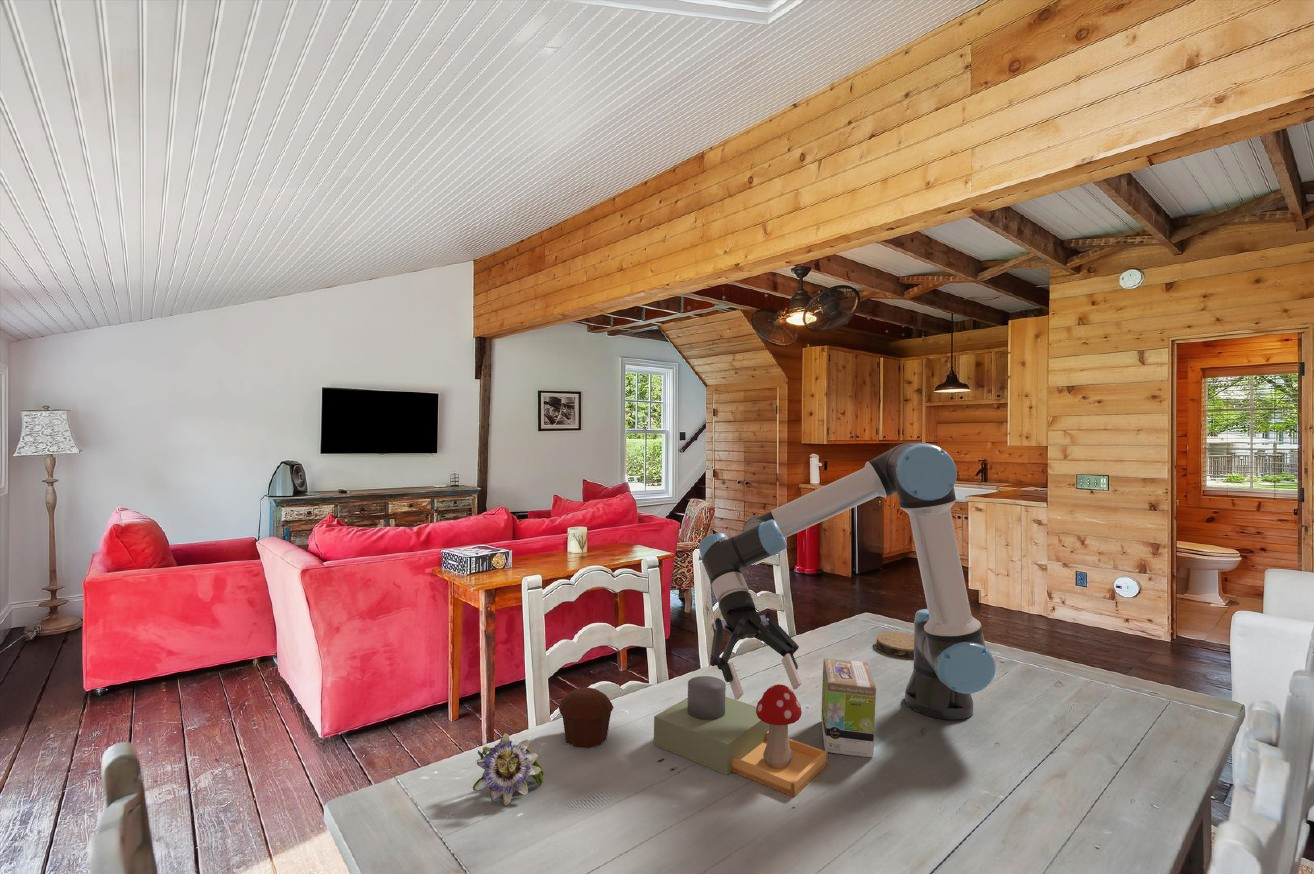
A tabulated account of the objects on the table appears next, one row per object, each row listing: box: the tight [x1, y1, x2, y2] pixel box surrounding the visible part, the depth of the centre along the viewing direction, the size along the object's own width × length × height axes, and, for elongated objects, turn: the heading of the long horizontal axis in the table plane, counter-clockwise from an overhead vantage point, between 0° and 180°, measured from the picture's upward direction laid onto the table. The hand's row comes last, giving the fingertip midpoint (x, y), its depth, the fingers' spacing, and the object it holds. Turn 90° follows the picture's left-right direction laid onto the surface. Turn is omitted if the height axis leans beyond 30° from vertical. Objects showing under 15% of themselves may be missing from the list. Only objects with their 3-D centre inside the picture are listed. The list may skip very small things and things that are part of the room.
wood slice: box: [875, 631, 914, 660], centre depth 194 cm, size 16×16×3 cm
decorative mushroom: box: [756, 683, 802, 769], centre depth 126 cm, size 10×9×15 cm
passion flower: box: [472, 732, 545, 807], centre depth 117 cm, size 11×11×12 cm
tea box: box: [821, 657, 877, 758], centre depth 138 cm, size 15×10×15 cm, turn 168°
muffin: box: [558, 687, 615, 749], centre depth 136 cm, size 12×11×10 cm
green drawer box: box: [653, 675, 829, 798], centre depth 131 cm, size 31×18×12 cm, turn 52°
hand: (769, 691), depth 129 cm, fingers open, 13 cm apart
